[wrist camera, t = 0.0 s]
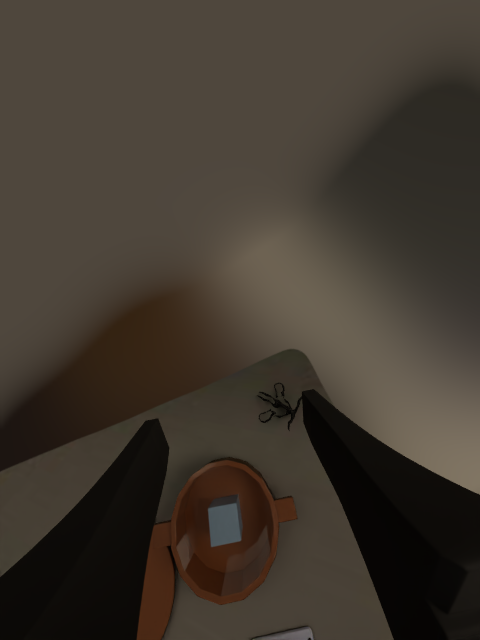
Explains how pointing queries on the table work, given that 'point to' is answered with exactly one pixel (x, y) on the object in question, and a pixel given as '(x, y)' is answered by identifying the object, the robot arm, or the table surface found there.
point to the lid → (157, 594)
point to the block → (225, 520)
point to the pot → (234, 558)
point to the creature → (279, 404)
